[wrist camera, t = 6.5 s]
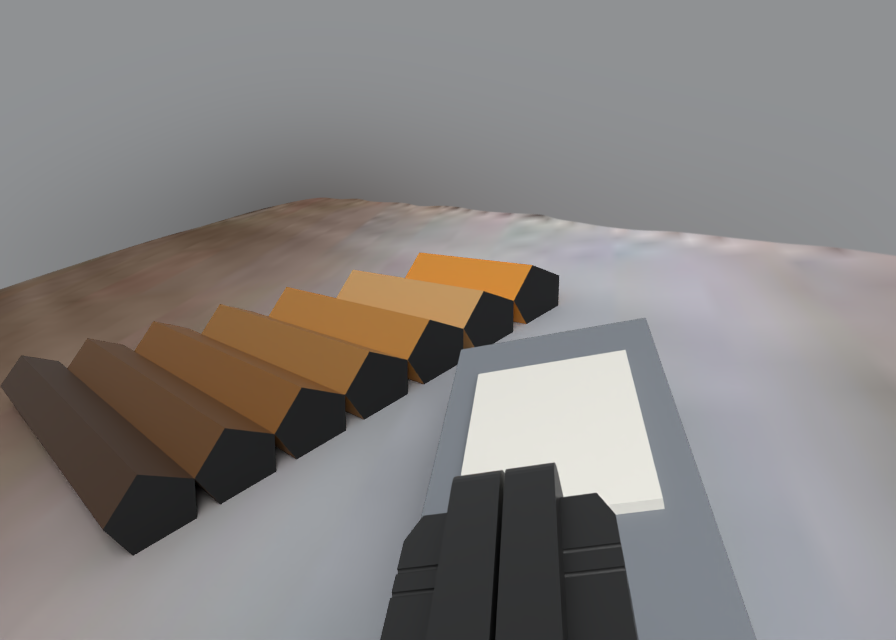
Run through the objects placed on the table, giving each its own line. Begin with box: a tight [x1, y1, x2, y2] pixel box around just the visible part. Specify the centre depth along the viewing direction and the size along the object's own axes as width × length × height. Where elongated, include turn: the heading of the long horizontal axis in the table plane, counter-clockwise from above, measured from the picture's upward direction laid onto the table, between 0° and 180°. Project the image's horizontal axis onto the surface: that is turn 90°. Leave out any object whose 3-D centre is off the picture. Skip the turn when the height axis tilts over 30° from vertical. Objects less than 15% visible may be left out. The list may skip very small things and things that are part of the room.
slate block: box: [421, 318, 757, 640], centre depth 21 cm, size 4×7×16 cm
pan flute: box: [1, 253, 559, 555], centre depth 43 cm, size 25×3×25 cm
